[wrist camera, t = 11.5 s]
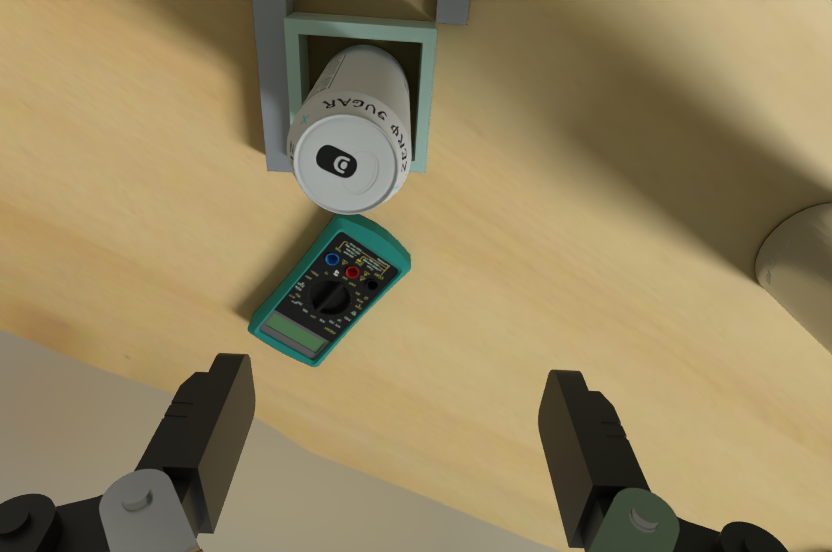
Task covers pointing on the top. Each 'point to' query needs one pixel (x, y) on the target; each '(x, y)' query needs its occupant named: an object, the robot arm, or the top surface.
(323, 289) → the digital multimeter
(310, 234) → the top surface
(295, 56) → the rail
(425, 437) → the top surface
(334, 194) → the energy drink can
